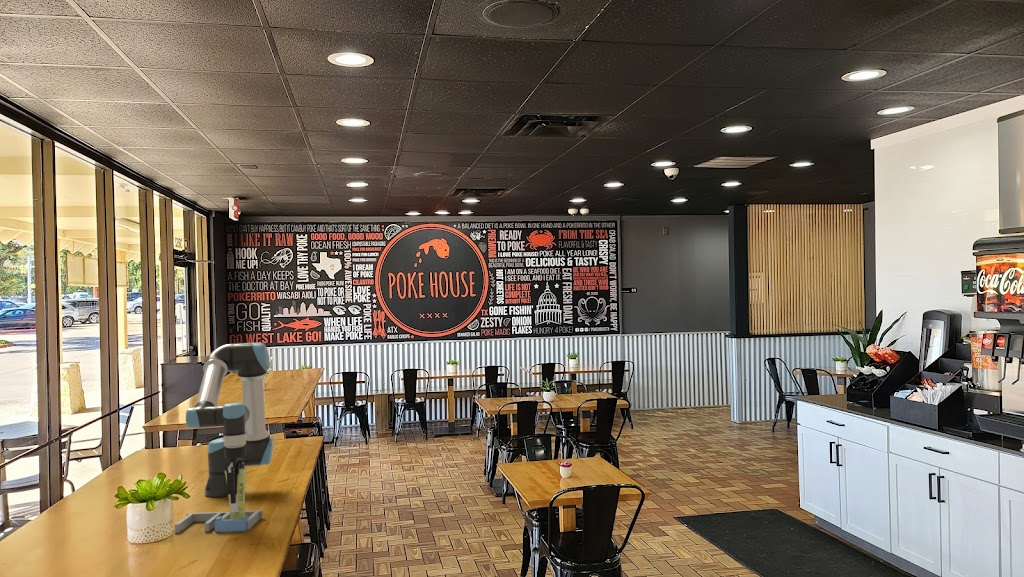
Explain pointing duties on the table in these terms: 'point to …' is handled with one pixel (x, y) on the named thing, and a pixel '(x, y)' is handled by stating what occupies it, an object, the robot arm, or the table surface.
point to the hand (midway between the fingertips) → (236, 509)
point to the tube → (239, 495)
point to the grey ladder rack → (220, 521)
